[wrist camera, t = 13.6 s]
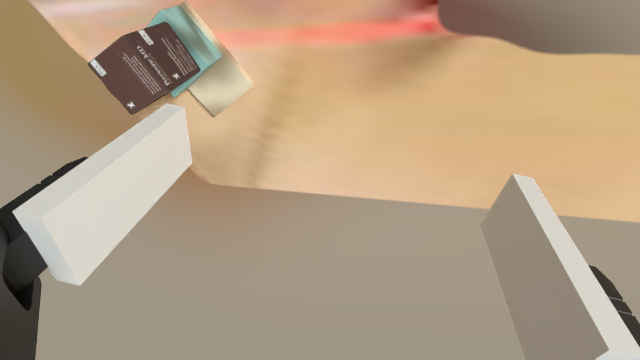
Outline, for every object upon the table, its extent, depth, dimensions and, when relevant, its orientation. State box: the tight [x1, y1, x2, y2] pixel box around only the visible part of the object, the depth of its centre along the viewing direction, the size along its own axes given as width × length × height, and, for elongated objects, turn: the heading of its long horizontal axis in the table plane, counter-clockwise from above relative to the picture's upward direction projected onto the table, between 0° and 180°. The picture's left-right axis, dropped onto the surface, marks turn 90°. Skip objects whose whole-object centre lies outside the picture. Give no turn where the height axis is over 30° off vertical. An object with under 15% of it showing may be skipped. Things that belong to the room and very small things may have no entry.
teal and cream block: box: [146, 1, 255, 117], centre depth 40 cm, size 12×8×5 cm, turn 37°
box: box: [88, 22, 201, 114], centre depth 34 cm, size 6×6×7 cm
